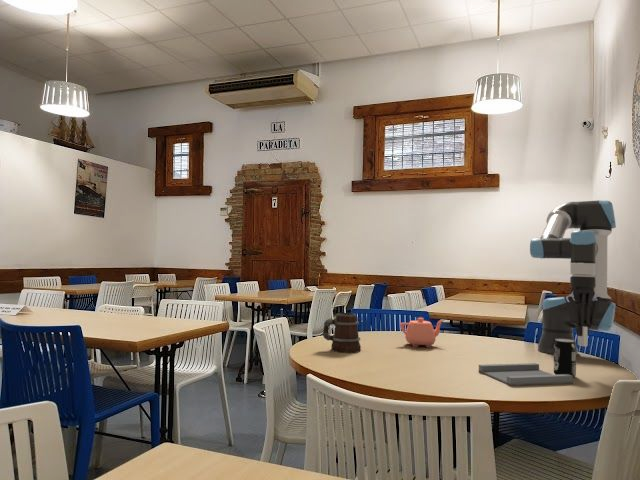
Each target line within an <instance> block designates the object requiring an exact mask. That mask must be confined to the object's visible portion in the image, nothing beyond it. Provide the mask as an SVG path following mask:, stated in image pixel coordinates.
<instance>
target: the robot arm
mask: <svg viewBox="0 0 640 480" xmlns="http://www.w3.org/2000/svg"><path fill="white" fill-rule="evenodd" d="M616 227H617V225H616V218H615V211H614V205H613V202H612V201H610V200H584V201H583V200H582V201H569V202H565V203H563V204H562V203H561V204H560V205H558V206H556V207H555V208H553V209H552V210H550V212H549V213H548V215H547V218H546V225H545V227H544V230H543V231H542V234H541V235H540V237H537V238H534V237H533V238H532V239H530V242H529V254H530V257H532V259H533V258H535V259H540V260H542V259H563V260H564V259H565V260H569V259H570V263H569V264H570V265H569V269H570V270H569V271H570V275H571V276H570V278H569V279H570V280H569V283H570V285H569V286H570V287H571V290H570V294H568V295H565V296H558V297H547V298H545V299H543V301H542V309H541V311H542V334H541V336H540V339H539V342H538V343H537V345H538V346H537V351H539V352H542V353H546V354H551V355H554V343H555V341H556V340H555V339H570V340H574V343H575V345H576V355H578V350H579V349H578V346H581V347H588V345H589V344H588V342H589V341H588V340H589V339H588V337H589V335H590V331H595V332H609V331H611V330H612V328H613V324H614V319H615V313H616V312H615V311H616V305H617V304H616V302H615V303H614V302H612V297H611V296H610V295H609V294H608V236H610V235H611V234H612V233H613V231H612V230H613V229H615V228H616ZM568 229H569V230H570V229H571V230H572V229H575V230H573V231H572V232H570V237H565V238H564V236H565V233H566V231H567V230H568ZM577 229H579V230H577ZM574 329H575V330H576V331H575V332H576V333H575V335H576V336H577V343H576V340H575V336H574Z"/></svg>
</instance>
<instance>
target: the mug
mask: <svg viewBox="0 0 640 480" xmlns="http://www.w3.org/2000/svg"><path fill="white" fill-rule="evenodd" d="M335 316H336V317H335V318H334V319H333V318H328V319H326V320H325V321H324V323H323V325H324V326H323V331H322V332H321V333H322V336H323V338H324V339H325V340H327V341H332V342H331V350H332V352H336V351H337V353H344V352H346V353H347V354H350V353H351V352H352V353H358V352H360V351H362V350H361V347H362V346H361V343H360V341H361V337H359V329H358V325H359V324H360V321H359V320H358V318H357V317H358V316H357V314H356V313H354V312H338V313H336V315H335ZM332 325H333V326H334V332H333V334H332V335H331V334H330V333H329V329H330V328H329V327H331V326H332Z"/></svg>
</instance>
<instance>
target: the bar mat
mask: <svg viewBox="0 0 640 480" xmlns="http://www.w3.org/2000/svg"><path fill="white" fill-rule="evenodd" d="M478 372H479V373H481V374H483V375H485V376H487V377H490V378H492V379H493V380H494V379H495V380H497V381H499V382H501V383H504V384H506V385H507V386H510V387H513V386H514V387H516V386H539V385H540V386H541V385H543V386H544V385H566V384H567V385H568V384H573V383H574V377H573V376H572V375H569V374H559V375H555V374H554V373H549V372H547V371H544V370H542V369H540V364H539V363H536V362H531V363H530V362H528V363H526V362H525V363H498V364H496V363H494V364H493V363H491V364H488V363H487V364H478Z"/></svg>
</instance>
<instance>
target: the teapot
mask: <svg viewBox="0 0 640 480" xmlns="http://www.w3.org/2000/svg"><path fill="white" fill-rule="evenodd" d="M416 319H417V320H410V321H409V322H401V323H399V329H400V330H401V331H402V333H403V334H404V335H405V340H406V342H407V343H408V344H409V345H410V346H411V345H412V348H419V346H425V348H432V345H434V344H435V342H436V338H437V337H438V336H439V335H440V331H441V330H440V329H441V326H442V323H443V322H444V321H445V319H441V320H438V321H437V323H436V327H435V329H434V326H433V324H432V322H431V321H428V320H425V319H424V317H417V318H416ZM405 326H407V328H406V329H405Z"/></svg>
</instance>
